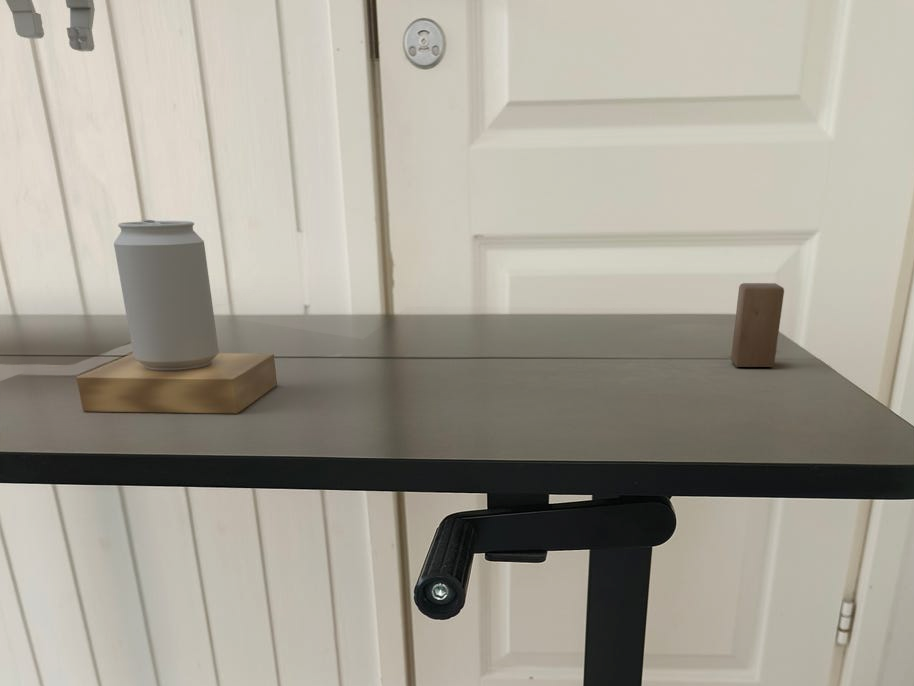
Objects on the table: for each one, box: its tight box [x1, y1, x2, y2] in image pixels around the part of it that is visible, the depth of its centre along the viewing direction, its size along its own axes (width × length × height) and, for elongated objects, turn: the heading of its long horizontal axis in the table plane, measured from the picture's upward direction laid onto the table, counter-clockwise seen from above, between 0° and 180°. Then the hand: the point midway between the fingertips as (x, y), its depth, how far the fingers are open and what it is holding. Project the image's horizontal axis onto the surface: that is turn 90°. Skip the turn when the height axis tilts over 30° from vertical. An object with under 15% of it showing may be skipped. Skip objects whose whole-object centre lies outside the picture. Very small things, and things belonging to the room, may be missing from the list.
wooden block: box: [730, 282, 785, 368], centre depth 95 cm, size 4×4×8 cm
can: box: [113, 219, 220, 370], centre depth 81 cm, size 8×8×12 cm
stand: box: [76, 352, 278, 415], centre depth 84 cm, size 14×12×3 cm
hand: (58, 44), depth 83 cm, fingers open, 8 cm apart
